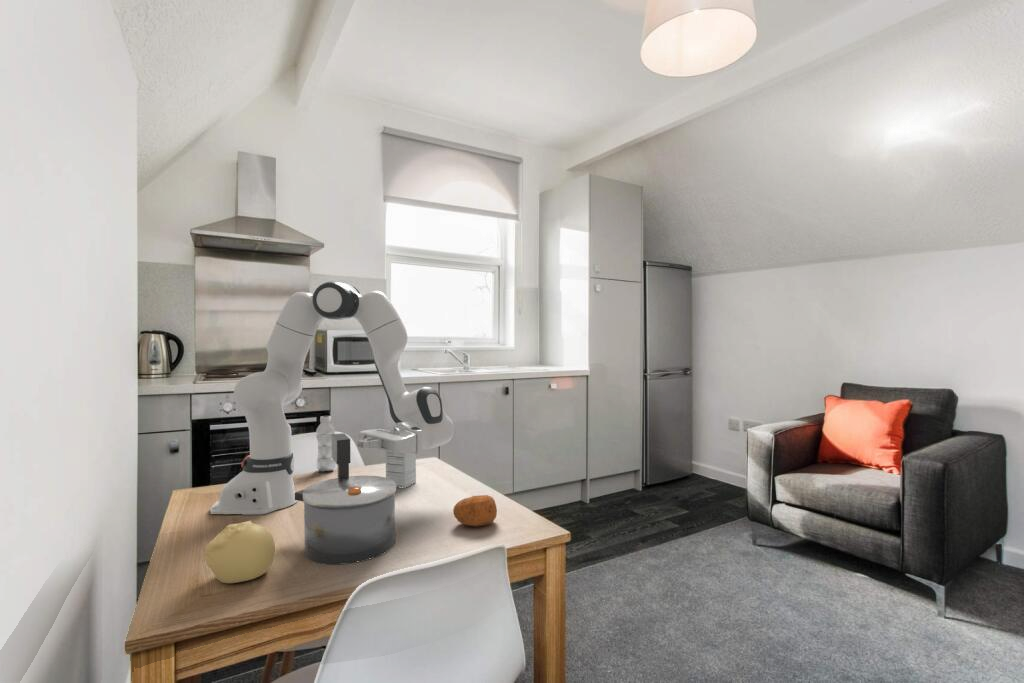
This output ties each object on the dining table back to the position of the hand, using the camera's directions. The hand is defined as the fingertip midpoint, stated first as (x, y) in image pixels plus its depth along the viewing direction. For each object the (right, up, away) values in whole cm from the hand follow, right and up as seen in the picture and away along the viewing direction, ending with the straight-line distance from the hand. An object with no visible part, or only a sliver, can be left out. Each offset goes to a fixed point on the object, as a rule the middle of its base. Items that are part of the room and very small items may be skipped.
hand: (360, 444), depth 132 cm
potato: (+31, -20, -4) cm, 37 cm away
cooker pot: (0, -20, -15) cm, 25 cm away
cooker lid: (+1, -8, -13) cm, 15 cm away
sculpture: (-15, -20, -31) cm, 40 cm away
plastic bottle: (-28, -20, +50) cm, 61 cm away
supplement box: (+4, -20, +32) cm, 38 cm away
